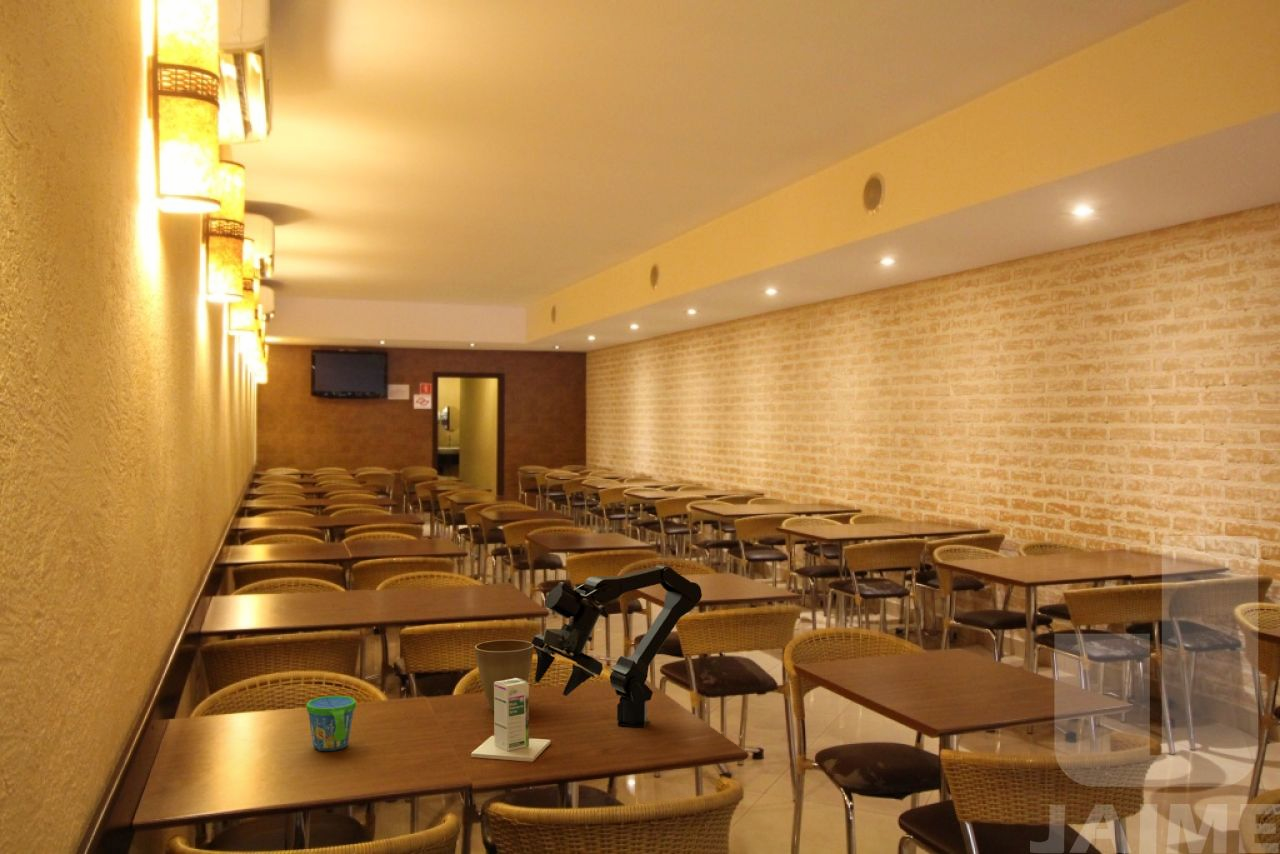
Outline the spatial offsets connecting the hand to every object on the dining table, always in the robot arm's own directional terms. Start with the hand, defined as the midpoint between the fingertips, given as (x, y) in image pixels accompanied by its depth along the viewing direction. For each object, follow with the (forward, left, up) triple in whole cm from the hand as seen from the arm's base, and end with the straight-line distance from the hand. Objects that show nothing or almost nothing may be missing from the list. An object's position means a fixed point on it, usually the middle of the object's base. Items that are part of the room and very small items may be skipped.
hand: (550, 688), depth 238 cm
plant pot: (+19, -22, -12) cm, 31 cm away
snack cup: (+46, +17, -12) cm, 50 cm away
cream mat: (+6, +10, -11) cm, 16 cm away
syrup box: (+6, +10, -11) cm, 16 cm away
